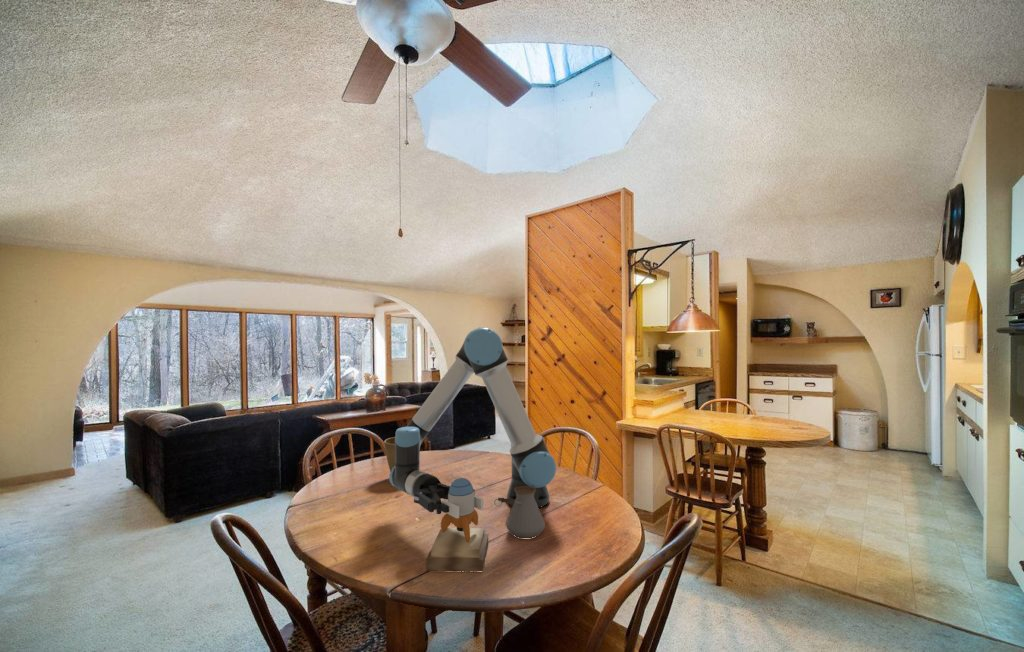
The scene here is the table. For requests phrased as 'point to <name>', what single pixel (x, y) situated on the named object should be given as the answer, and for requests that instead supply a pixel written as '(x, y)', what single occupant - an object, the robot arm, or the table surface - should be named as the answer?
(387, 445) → the plant pot
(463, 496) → the toy rocket
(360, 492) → the table surface
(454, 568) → the pad
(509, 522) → the coffee pot
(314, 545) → the table surface
